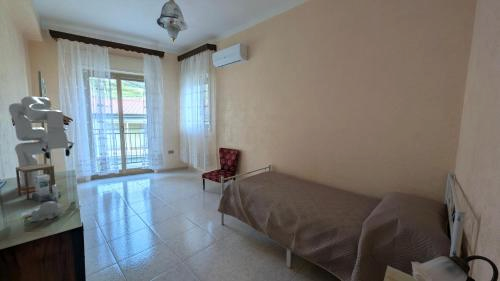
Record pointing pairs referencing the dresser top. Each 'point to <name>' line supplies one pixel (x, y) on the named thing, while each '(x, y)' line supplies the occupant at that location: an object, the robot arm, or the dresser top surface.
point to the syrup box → (42, 184)
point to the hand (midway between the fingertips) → (58, 157)
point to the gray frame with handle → (48, 195)
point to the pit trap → (31, 189)
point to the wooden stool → (45, 167)
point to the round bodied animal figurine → (46, 211)
